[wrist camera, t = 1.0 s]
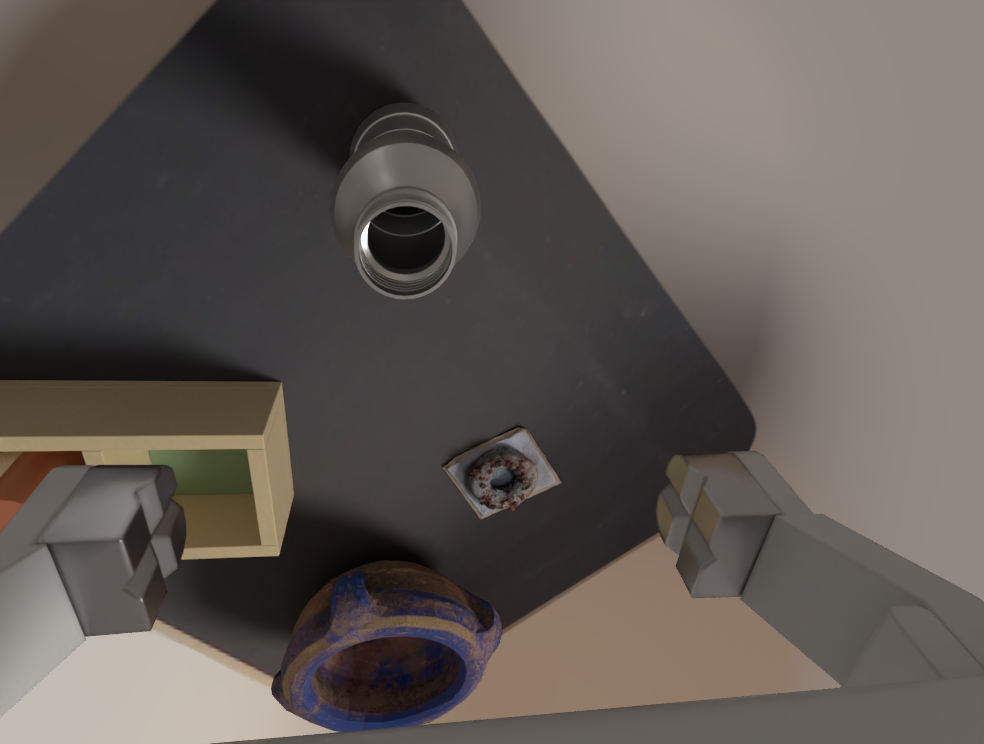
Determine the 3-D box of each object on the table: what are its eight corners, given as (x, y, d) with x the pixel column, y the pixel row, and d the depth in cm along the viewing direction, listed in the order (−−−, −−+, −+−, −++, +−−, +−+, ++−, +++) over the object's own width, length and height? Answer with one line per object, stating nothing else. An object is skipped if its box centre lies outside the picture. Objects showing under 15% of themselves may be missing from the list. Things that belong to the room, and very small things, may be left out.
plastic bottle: (330, 149, 37) (267, 249, 20) (408, 73, 36) (412, 111, 19) (401, 224, 40) (399, 367, 23) (476, 157, 39) (533, 256, 21)
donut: (525, 422, 50) (529, 436, 48) (560, 482, 54) (565, 497, 52) (440, 463, 51) (441, 479, 49) (480, 519, 55) (482, 535, 53)
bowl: (423, 667, 65) (426, 763, 56) (266, 624, 58) (242, 726, 50) (513, 563, 59) (532, 655, 50) (349, 502, 52) (338, 596, 43)
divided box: (-34, 379, 42) (-107, 437, 36) (281, 381, 45) (262, 434, 39) (17, 500, 47) (-40, 568, 41) (294, 494, 51) (279, 556, 45)
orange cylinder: (26, 426, 43) (-46, 500, 36) (94, 426, 44) (36, 499, 37) (44, 474, 45) (-20, 553, 39) (109, 473, 46) (57, 551, 39)
